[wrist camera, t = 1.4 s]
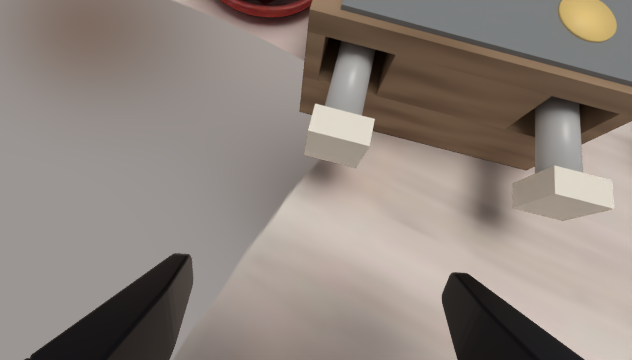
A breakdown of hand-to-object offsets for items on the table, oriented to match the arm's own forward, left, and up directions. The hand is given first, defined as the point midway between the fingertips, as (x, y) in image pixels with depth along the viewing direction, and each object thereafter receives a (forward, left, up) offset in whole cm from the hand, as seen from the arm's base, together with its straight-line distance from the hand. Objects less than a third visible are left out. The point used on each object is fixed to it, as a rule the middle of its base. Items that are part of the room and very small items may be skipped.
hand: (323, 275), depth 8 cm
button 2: (+12, 0, -9) cm, 15 cm away
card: (+17, -6, -4) cm, 18 cm away
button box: (+17, -6, -14) cm, 22 cm away
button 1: (+12, -13, -9) cm, 20 cm away
